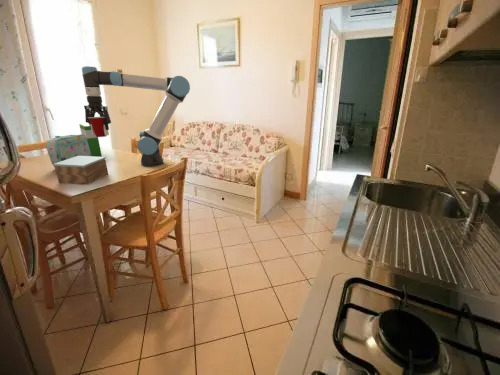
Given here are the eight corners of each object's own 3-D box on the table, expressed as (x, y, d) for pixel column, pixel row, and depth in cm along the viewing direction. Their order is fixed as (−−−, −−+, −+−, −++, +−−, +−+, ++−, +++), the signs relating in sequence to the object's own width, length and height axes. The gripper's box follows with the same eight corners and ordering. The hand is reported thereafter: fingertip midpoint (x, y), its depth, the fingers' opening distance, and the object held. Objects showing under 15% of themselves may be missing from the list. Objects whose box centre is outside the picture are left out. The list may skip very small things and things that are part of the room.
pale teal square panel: (106, 158, 157) (105, 156, 157) (83, 167, 140) (83, 165, 140) (78, 157, 160) (78, 155, 159) (53, 165, 143) (52, 164, 142)
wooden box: (108, 174, 161) (105, 159, 157) (87, 184, 144) (83, 167, 140) (82, 173, 163) (78, 158, 160) (58, 182, 146) (54, 165, 143)
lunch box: (63, 171, 167) (54, 138, 160) (50, 170, 169) (41, 137, 162) (94, 160, 192) (88, 131, 184) (82, 160, 194) (75, 131, 186)
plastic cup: (106, 134, 166) (103, 115, 162) (114, 136, 159) (111, 116, 155) (88, 136, 158) (84, 115, 154) (95, 138, 152) (91, 117, 147)
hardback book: (85, 153, 212) (79, 124, 204) (95, 152, 217) (89, 123, 208) (91, 157, 200) (84, 126, 191) (101, 156, 205) (95, 125, 196)
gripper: (73, 95, 149) (80, 134, 157) (105, 96, 145) (111, 136, 153) (83, 95, 156) (90, 133, 163) (114, 96, 152) (119, 134, 160)
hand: (100, 134), depth 158 cm, fingers closed on plastic cup, 8 cm apart
